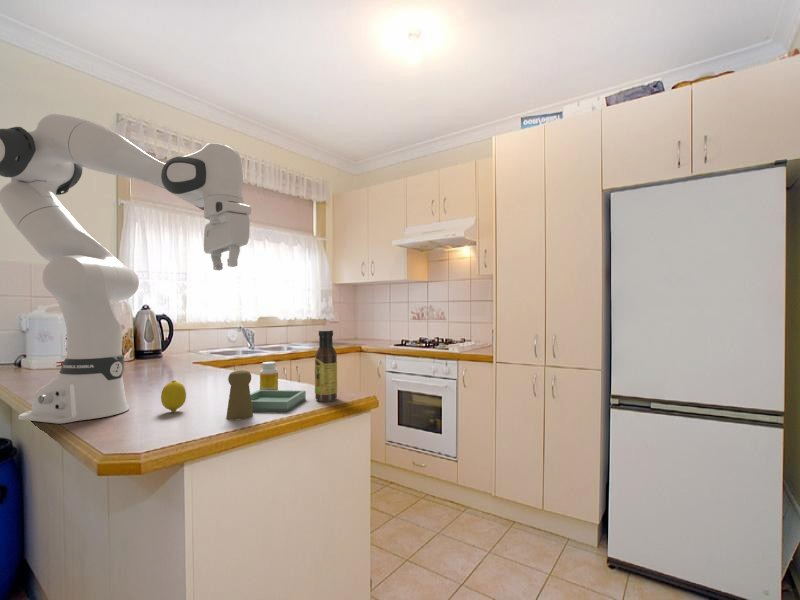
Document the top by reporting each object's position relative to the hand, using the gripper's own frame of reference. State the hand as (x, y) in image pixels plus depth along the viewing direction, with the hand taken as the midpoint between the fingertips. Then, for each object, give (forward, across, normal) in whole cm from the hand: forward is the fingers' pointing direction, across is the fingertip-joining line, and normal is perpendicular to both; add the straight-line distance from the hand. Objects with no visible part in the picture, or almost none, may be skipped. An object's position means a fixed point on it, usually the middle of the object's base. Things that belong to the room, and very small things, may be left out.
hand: (225, 268), depth 97 cm
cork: (+36, +2, +2) cm, 36 cm away
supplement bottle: (+36, -18, +19) cm, 45 cm away
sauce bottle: (+36, +1, +27) cm, 45 cm away
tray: (+36, -4, +13) cm, 39 cm away
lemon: (+36, -15, -8) cm, 39 cm away
